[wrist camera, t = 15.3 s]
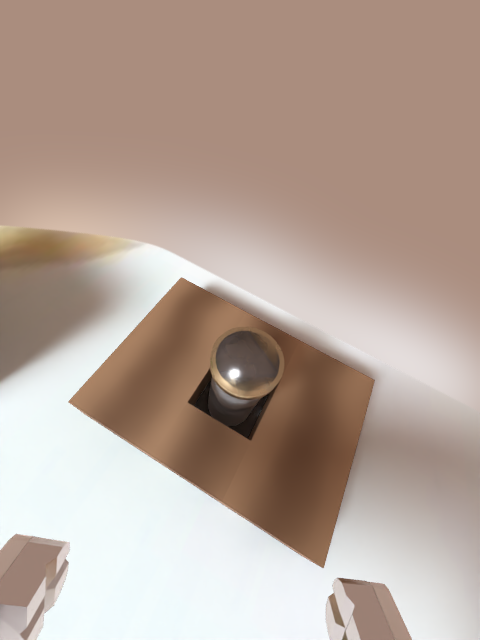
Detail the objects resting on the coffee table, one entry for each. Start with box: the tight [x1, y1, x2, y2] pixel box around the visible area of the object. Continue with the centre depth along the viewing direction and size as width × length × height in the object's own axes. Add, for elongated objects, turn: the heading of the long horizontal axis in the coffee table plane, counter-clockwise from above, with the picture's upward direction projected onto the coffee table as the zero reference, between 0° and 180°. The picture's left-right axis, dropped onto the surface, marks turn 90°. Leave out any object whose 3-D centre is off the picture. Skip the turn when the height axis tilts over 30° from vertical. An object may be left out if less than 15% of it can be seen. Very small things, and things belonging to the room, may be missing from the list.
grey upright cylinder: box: [208, 327, 284, 426], centre depth 22 cm, size 5×5×10 cm
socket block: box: [69, 277, 375, 568], centre depth 24 cm, size 20×14×4 cm
